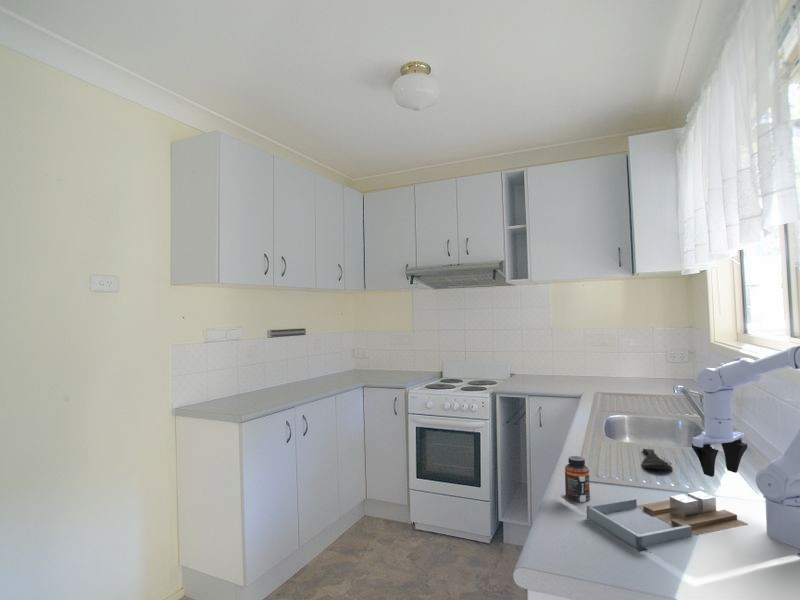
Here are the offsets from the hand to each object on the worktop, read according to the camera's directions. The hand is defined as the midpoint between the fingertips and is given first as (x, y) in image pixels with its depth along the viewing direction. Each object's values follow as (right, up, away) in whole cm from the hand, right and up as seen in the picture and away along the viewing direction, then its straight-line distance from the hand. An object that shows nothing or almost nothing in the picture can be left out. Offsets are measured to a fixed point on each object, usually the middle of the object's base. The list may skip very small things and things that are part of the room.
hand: (720, 473), depth 112 cm
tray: (-24, -10, -8) cm, 27 cm away
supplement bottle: (-32, -11, +8) cm, 34 cm away
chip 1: (-11, -9, -4) cm, 15 cm away
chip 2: (-6, -9, -2) cm, 11 cm away
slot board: (-10, -10, -3) cm, 14 cm away
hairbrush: (+4, -11, +38) cm, 39 cm away
